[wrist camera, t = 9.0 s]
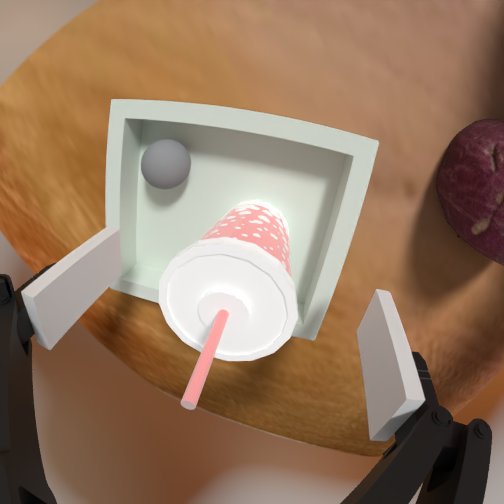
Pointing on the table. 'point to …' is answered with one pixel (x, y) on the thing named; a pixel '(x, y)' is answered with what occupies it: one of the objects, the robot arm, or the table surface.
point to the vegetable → (476, 187)
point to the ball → (165, 164)
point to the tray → (235, 191)
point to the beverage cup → (232, 291)
